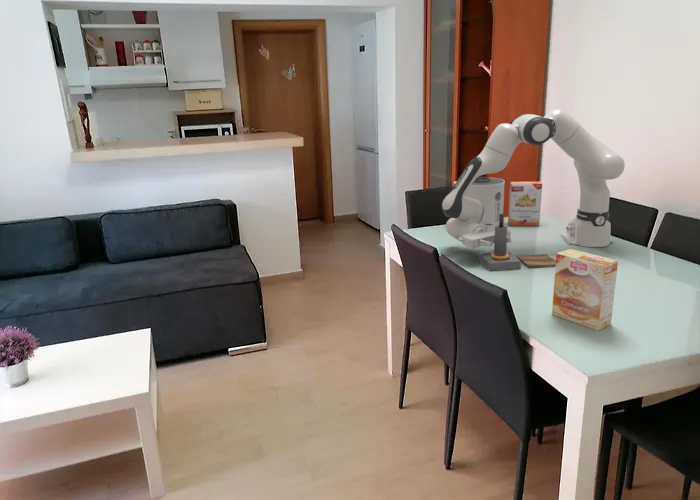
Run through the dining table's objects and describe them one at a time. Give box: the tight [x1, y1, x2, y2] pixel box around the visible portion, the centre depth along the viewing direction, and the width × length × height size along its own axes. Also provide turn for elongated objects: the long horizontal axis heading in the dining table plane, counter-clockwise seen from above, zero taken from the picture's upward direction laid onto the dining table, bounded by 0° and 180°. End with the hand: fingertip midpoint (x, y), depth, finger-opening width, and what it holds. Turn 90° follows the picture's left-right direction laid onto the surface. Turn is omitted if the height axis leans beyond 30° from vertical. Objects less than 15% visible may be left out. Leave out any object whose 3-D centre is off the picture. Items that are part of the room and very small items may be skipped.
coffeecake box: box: [551, 248, 619, 332], centre depth 152 cm, size 15×7×20 cm, turn 35°
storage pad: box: [516, 253, 556, 269], centre depth 204 cm, size 12×12×1 cm
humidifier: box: [452, 176, 506, 226], centre depth 254 cm, size 22×21×23 cm
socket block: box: [479, 251, 522, 272], centre depth 203 cm, size 12×12×3 cm
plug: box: [491, 213, 509, 260], centre depth 200 cm, size 6×6×20 cm
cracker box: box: [507, 181, 543, 227], centre depth 253 cm, size 14×6×21 cm, turn 81°
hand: (500, 242), depth 201 cm, fingers open, 8 cm apart
